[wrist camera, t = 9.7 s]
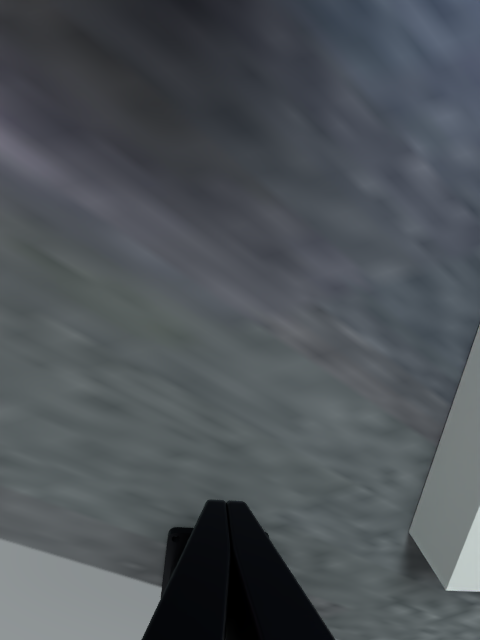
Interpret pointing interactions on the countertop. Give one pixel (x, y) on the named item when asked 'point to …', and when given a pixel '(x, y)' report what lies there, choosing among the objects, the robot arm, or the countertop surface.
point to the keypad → (455, 490)
